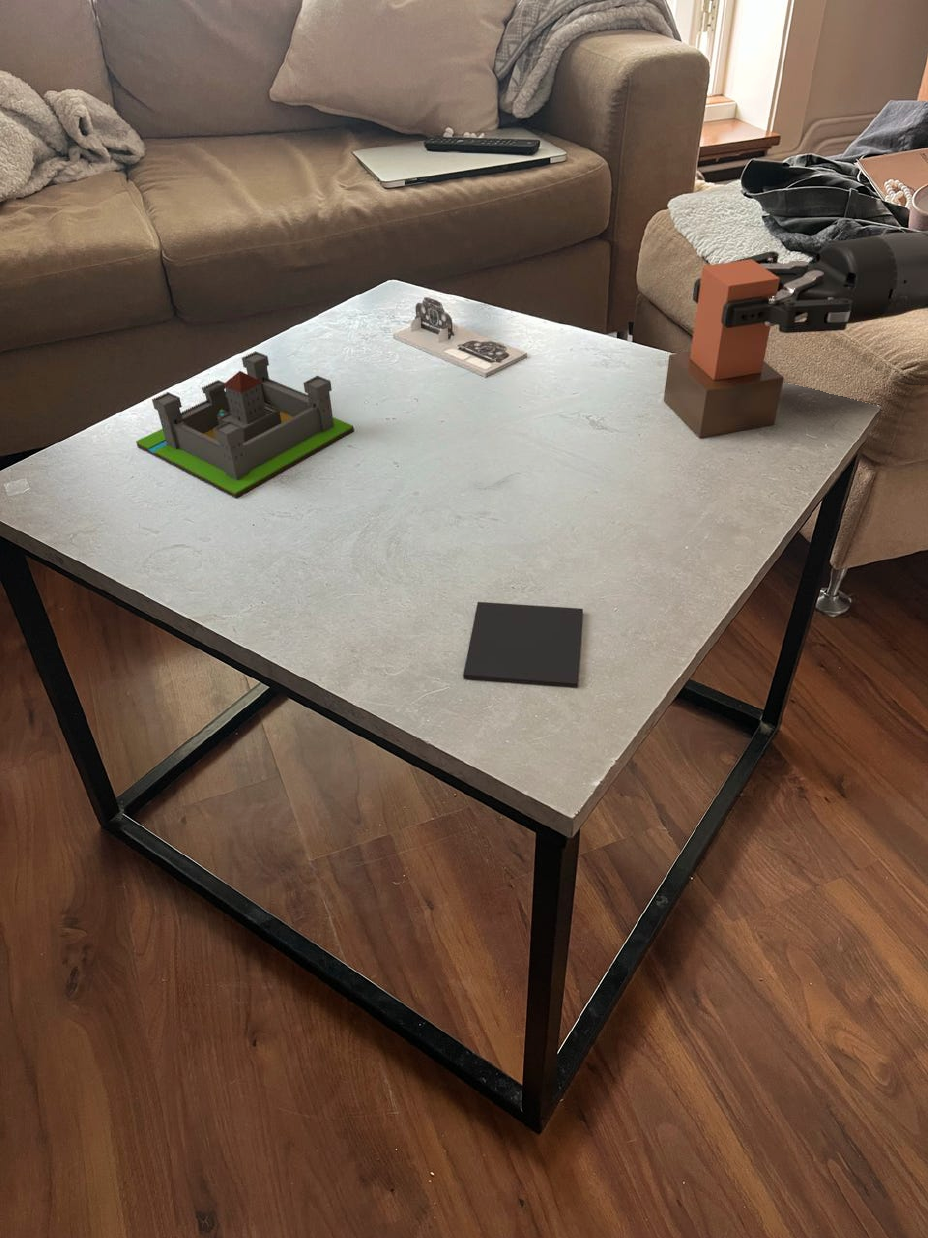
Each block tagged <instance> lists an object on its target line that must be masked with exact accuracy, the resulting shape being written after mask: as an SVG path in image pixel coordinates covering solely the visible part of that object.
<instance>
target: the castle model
mask: <svg viewBox="0 0 928 1238" xmlns="http://www.w3.org/2000/svg"><path fill="white" fill-rule="evenodd" d="M241 362H242V367H243V368H244V369H246V373H245V372H243V371H241V370H239V371H238V372H237V373H235V374H234V375H233V376H232V377H230V378H229V379H228V380H227V381H226V382H223V381H222V380H219V379H216V380H214V381H213V382H211V383H209V384H206V385H204V386H202V387H201V390H202V394H203V395H205V400H203V401H201V402H199V403H197V404H195V405H193V406H191V407H189V408H187V409H185V410H183V411H181V409H180V408H182V407H183V405H182V402H181V397H180V396H177V395H175V394H174V393H171V392H169V391H166V392H165V393H164V392H163V393H162V394H160V395H158V396H155V397H153V398H152V399H151V401H152V405H153V409H154V410H156V411H157V414H158V418H159V421H160V425H161V429H159V430H157V431H155V432H152V433H150V434H149V435H147V436H144V437H143V438H140V439H138V440H136V441H135V443H136V446H137V448H139V449H141V450H142V451H145V452H146V453H148V454H151V455H152V456H155V457H156V458H158V459H160V460H162V461H163V462H166V463H168V464H169V465H171V466H173V467H176V468H177V469H178V470H179V469H180V470H181V471H183V472H185V473H187V474H189V475H191V476H193V477H194V478H197V479H198V480H200V481H202V482H204V483H206V484H208V485H210V486H212V487H213V488H216V489H218V490H219V491H222V492H223V493H225V494H226V495H229V496H231V497H233V498H234V499H238V498H240V497H241V496H243V495H245V494H247V493H248V492H250V491H252V490H253V489H255V488H257V487H259V486H260V485H262V484H264V483H265V482H268V481H269V480H271V479H273V478H274V477H276V476H278V475H279V474H281V473H283V472H285V471H287V470H289V469H290V468H292V467H294V466H296V465H297V464H299V463H301V462H303V461H304V460H306V459H308V458H310V457H311V456H313V455H315V454H317V453H319V452H320V451H322V450H324V449H325V448H327V447H328V446H331V445H332V444H334V443H336V442H338V441H339V440H341V439H343V438H344V437H346V436H348V435H350V434H351V433H353V432H355V428H354V425H353V424H350V423H348V422H346V421H343V420H341V419H339V418H336V417H333V416H334V415H333V408H332V402H331V401H332V400H331V393H330V392H331V391H332V382H331V380H329V379H327V378H324V377H322V376H319V375H316V376H314V377H312V378H310V379H308V380H305V381H304V382H303V389H304V392H302V391H301V390H297V389H296V388H295V389H294V388H292V387H290V386H287V385H285V384H283V383H280V382H278V381H275V380H272V379H270V377H269V371H268V366H270V362H269V356H268V355H266V354H263V353H261V352H258V351H256V350H255V351H254V352H251V353H248V354H246V355H245V356H242V357H241Z"/></svg>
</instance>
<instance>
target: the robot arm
mask: <svg viewBox="0 0 928 1238" xmlns="http://www.w3.org/2000/svg"><path fill="white" fill-rule="evenodd" d="M750 259H752V260H753V261H755V262H756V263H758V264H759V265H761V266H762V267H764V268H765V269H767V270H768V271H770V272H771V273H773V274H774V275H776V276H777V277H779V278H780V280H779V285H778V290H777V293H773V294H771V295H768V296H767V300H766V299H765V298H764V297H763V296H760V297H753V298H747V299H740V300H734V301H728V302H726V303H725V304H724V306H723V312H722V319H721V323H722V324H723V325H724V326H725V327H727V328H732V327H738V326H744V325H751V324H757V323H761V322H762V324H763V325H766V326H770V327H774V326H776V325H777V326H778V331H779V332H780V333H782V334H795V333H796V334H797V333H815V332H834V331H838V332H839V331H845V330H846V329H847V325H850V324H856V323H863V322H869V321H875V320H881V319H887V318H892V317H897V316H902V315H905V314H909V313H910V312H914V311H918V310H919V311H920V310H926V309H928V230H926V231H919V232H892V233H891V232H890V233H885V234H884V233H883V234H878V235H870V236H864V237H856V238H850V239H842V240H835V241H831V242H829V243H827V244H825V245H824V246H822V247H821V248H820V249H819V251H818V252H817V253H816V255H814V256H813V258H812V259H811V260H809V261H806V260H790V261H788V262H786V263H785V262H784V263H781V262H779V261H778V260H779V252H777V251H774V250H770V251H766V252H762V253H758V254H755V255H751V256H747V257H744V258H740V259H735V260H733V261H731V262H736V261H743V260H750ZM700 282H701V277H700V278H697V279H696V280H695V282H694V284H693V285H694V286H693V293H692V300H693V302H694V303H696V305H697V304H698V296H699V289H700ZM765 300H766V301H765ZM803 319H805V320H803ZM800 320H803V321H800Z"/></svg>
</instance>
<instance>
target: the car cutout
mask: <svg viewBox="0 0 928 1238" xmlns="http://www.w3.org/2000/svg"><path fill="white" fill-rule="evenodd" d="M414 311H415V316H414V319H413V320H412V321H411V323H410V326H409V327H406V328H404V329H402V330H399V331H397V332H395V333H393V334H392V338H393V339H395V340H397V341H399V342H402V343H404V344H407V345H409V346H411V347H413V348H416V349H418V350H420V351H423V352H425V353H427V354H430V355H432V356H434V357H437V358H439V359H441V360H443V361H446V362H448V363H451V364H454V365H456V366H458V367H460V368H462V369H465V370H468V371H470V372H472V373H475V374H477V375H479V376H481V377H484V378H487V377H489V376H491V375H494V374H495V373H497V372H500V371H502V370H503V369H505V368H507V367H510V366H511V365H514V364H515V363H517V362H519V361H522V360H523V359H525V358H527V357H528V353H527V352H526V351H523V350H521V349H518V348H516V347H513V346H511V345H508V344H505V343H502V342H501V341H498V340H495V339H493V338H490V337H487V336H485V335H482V334H480V333H477V332H475V331H472V330H470V329H467V328H465V327H463V326H459V325H457V324H454V323H453V319H452V317H451V315H450V314H449V313H447V312H445V309H444V306H443V304H442V303H441V302H440V301H439V300H436V299H434V298H431V297H430V296H429V297H428V296H425V297H423V301H422V302H417V303H416V304H415V310H414Z"/></svg>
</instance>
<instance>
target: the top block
mask: <svg viewBox="0 0 928 1238" xmlns="http://www.w3.org/2000/svg"><path fill="white" fill-rule="evenodd" d="M735 261H736V260H735ZM700 278H701V282H700V289H699V296H698V304H697V303H696V310H695V311H696V312H695V319H694V324H693V325H694V326H693V332H692V341H691V348H690V351H691V354H690V359H691V360H692V361H693V362H694V363H695V364H696V365H698V366H699V367H700V368H701V369H702V370H703V371H704V372H705V373H706V374H707V375H708V376H709V377H711V378H712V379H713V380H720V379H726V378H732V377H738V376H744V375H750V374H756V373H761V372H762V368H763V362H764V361H765V357H766V352H767V347H768V341H769V336H770V330H771V326H766V325H763V324H762V322H761V323H757V324H751V325H744V326H738V327H732V328H727V327H725V326H724V325H723V324H722V323H721V319H722V312H723V306H724V304H725V303H726V302H728V301H734V300H740V299H747V298H753V297H760V296H763V297H764V298H765V299H766V300H767V296H768V295H771V294H773V293H777V290H778V285H779V280H780V278H779V277H777V276H776V275H774V274H773V273H771V272H770V271H768V270H767V269H765V268H764V267H762V266H761V265H759V264H758V263H756V262H755V261H753V260H752V259H750V260H743V261H736V262H732V261H729V262H723V263H717V264H709V265H704V266H703V265H702V269H701V276H700ZM766 300H765V301H766Z"/></svg>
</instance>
